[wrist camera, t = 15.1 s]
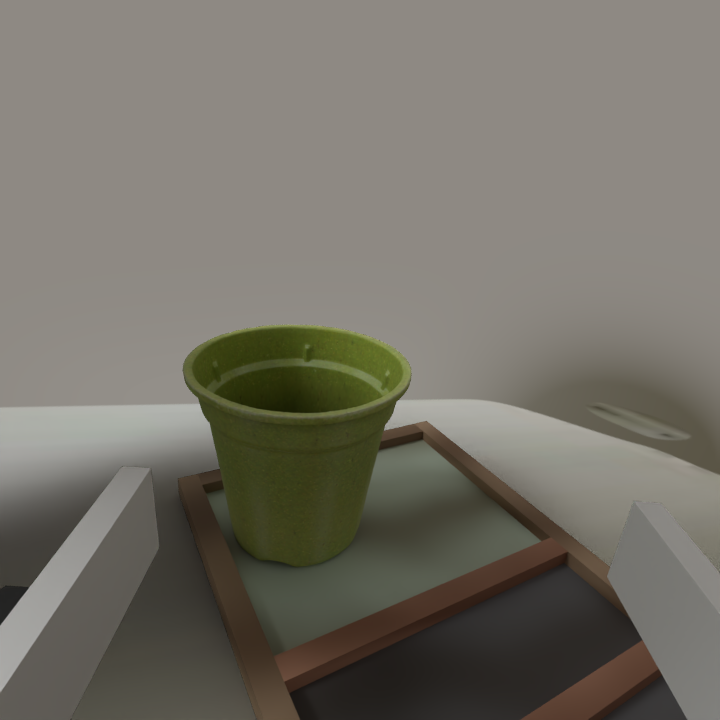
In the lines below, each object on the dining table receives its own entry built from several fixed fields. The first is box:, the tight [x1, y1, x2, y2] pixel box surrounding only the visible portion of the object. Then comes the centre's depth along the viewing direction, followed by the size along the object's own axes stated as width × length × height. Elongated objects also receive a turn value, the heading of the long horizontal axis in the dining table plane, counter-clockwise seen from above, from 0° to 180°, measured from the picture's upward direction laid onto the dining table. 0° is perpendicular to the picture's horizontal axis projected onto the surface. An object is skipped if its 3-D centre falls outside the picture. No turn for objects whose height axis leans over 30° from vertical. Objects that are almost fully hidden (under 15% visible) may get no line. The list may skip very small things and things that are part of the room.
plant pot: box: [183, 325, 411, 567], centre depth 23 cm, size 9×9×9 cm
